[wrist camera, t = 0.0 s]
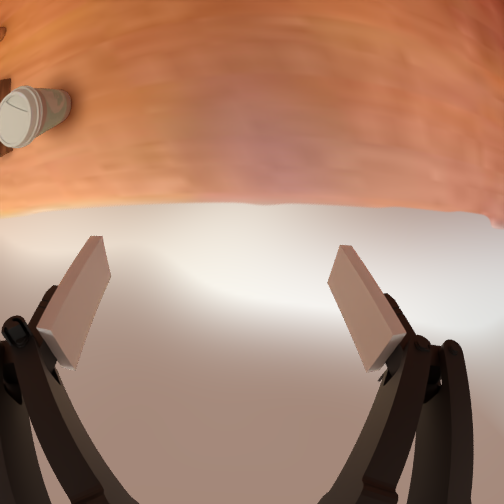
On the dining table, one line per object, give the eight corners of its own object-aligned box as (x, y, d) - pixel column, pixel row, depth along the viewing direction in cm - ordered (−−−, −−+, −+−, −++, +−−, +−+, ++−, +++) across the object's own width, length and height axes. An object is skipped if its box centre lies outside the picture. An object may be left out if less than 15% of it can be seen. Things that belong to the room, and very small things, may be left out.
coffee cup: (86, 110, 31) (43, 123, 21) (51, 141, 32) (8, 164, 22) (66, 71, 26) (20, 73, 16) (32, 104, 27) (-14, 117, 17)
